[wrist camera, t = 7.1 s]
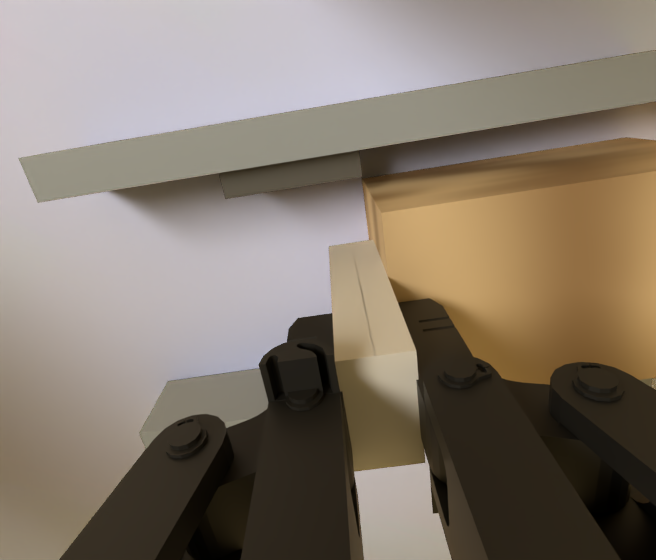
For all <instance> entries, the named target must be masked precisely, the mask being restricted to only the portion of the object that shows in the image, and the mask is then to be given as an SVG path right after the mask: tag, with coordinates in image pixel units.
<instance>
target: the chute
mask: <svg viewBox="0 0 656 560" xmlns="http://www.w3.org/2000/svg"><path fill="white" fill-rule="evenodd" d="M650 102H656V50H653V51H647V52H640V53H634V54H628V55H622V56H616V57H611V58H605V59H599V60H593V61H587V62H581V63H575V64H569V65H563V66H557V67H551V68H546V69H540V70H534V71H528V72H522V73H516V74H510V75H504V76H498V77H492V78H487V79H481V80H475V81H469V82H463V83H457V84H451V85H445V86H439V87H433V88H427V89H422V90H416V91H410V92H404V93H398V94H392V95H386V96H380V97H374V98H368V99H362V100H357V101H351V102H345V103H339V104H333V105H327V106H321V107H315V108H309V109H303V110H297V111H292V112H286V113H280V114H274V115H268V116H262V117H256V118H250V119H244V120H238V121H232V122H227V123H221V124H215V125H209V126H203V127H197V128H191V129H185V130H179V131H173V132H167V133H162V134H156V135H150V136H144V137H138V138H132V139H126V140H120V141H114V142H108V143H103V144H97V145H91V146H85V147H79V148H73V149H68V150H62V151H57V152H51V153H45V154H40V155H34V156H29V157H23V158H19V161H20V163H21V165H22V167H23V170H24V172H25V174H26V177H27V179H28V181H29V183H30V186H31V188H32V190H33V193H34V195H35V197H36V199H37V202H38V203H39V202H45V201H51V200H57V199H63V198H70V197H76V196H82V195H88V194H94V193H100V192H106V191H112V190H118V189H125V188H131V187H137V186H143V185H149V184H155V183H161V182H167V181H173V180H179V179H186V178H192V177H198V176H204V175H210V174H216V173H219V176H220V180H221V184H222V187H223V191H224V195H225V199H228V198H234V197H241V196H247V195H253V194H259V193H266V192H272V191H278V190H284V189H290V188H297V187H303V186H309V185H315V184H322V183H328V182H334V181H340V180H346V179H353V178H359V177H362V172H361V164H360V155H359V150H363V149H369V148H375V147H381V146H387V145H393V144H399V143H405V142H412V141H418V140H424V139H430V138H436V137H442V136H448V135H454V134H460V133H466V132H473V131H479V130H485V129H491V128H497V127H503V126H509V125H515V124H521V123H528V122H534V121H540V120H546V119H552V118H558V117H564V116H570V115H576V114H583V113H589V112H595V111H601V110H607V109H613V108H619V107H625V106H631V105H637V104H644V103H650ZM640 381H642V382H643V383H645V384H647V385H648V386H650V387H651V384H652V378H650V379H642V380H640ZM267 407H268V399H267V395H266V391H265V387H264V383H263V379H262V376H261V372H260V368H259V369H252V370H245V371H238V372H230V373H223V374H216V375H209V376H202V377H195V378H188V379H181V380H174V381H168V382H167V384H166V386H165V388H164V389H163V391H162V393H161V395H160V397H159V398H158V400H157V402H156V404H155V406H154V408H153V409H152V411H151V413H150V415H149V417H148V418H147V420H146V422H145V424H144V426H143V428H142V429H141V431H140V433H139V434H140V436H141V439H142V441H143V443H144V445H145V448H146V449H147V447H148V446H149V445H150V443H151V442H152V441H153V440H154V439H155V438H156V437H157V436H158V435H159V434H160V433H161V432H162V431H163V430H164V429H165V428H166V427H168V426H170V425H171V424H173V423H175V422H176V421H178V420H180V419H183V418H186V417H189V416H192V415H199V414H209V415H214V416H218V417H219V418H220V419H221V420H222V421H223V422H224V423H225V426H226V428H228V427H230V426H233V425H236V424H238V423H241V422H244V421H247V420H249V419H251V418H253V417H255V416H257V415H259V414H260V413H262V412H263V411H265V410H266V409H267Z"/></svg>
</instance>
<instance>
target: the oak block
mask: <svg viewBox="0 0 656 560" xmlns="http://www.w3.org/2000/svg"><path fill="white" fill-rule="evenodd" d="M362 184H363V192H364V201H365V209H366V218H367V227H368V235H369V240H374V243H375V245H376V248H377V250H378V253H379V255H380V258H381V261H382V263H383V266H384V268H385V271H386V273H387V276H388V279H389V281H390V284H391V286H392V289H393V291H394V294H395V297H396V299H397V302H398V303H399V302H406V301H413V300H420V299H427V298H430V299H432V300H434V301H435V302H437V303H439V304H440V305H442V306H443V307H444V309H445V310H446V312H447V314H448V315H449V318H450V319H451V320H452V322H453V324H454V325H455V327H456V328H457V330H458V332H459V333H460V335H461V337H462V338H463V340H464V342H465V343H466V345H467V347H468V348H469V350H470V352H471V353H472V355H473V357H476V358H479V359H481V360H483V361H485V362H487V363H489V364H490V365H491V366H492V367H493V368H494V369H495V370H496V371H497V372H498V373H499V375H500V376H501V378H503V379H506V380H510V381H516V382H523V383H536V384H548V385H550V377H551V376H552V374H553V372H554V370H555V369H557V368H559V367H561V366H563V365H565V364H569V363H576V362H591V363H599V364H603V365H607V366H611V367H615V368H617V369H619V370H622V371H624V372H626V373H628V374H630V375H632V376H634V377H635V378H637V379H639V380H642V379H650V378H656V141H655V140H645V139H636V138H619V139H613V140H607V141H600V142H594V143H587V144H581V145H575V146H568V147H562V148H555V149H549V150H543V151H536V152H530V153H523V154H517V155H511V156H504V157H498V158H491V159H485V160H479V161H472V162H466V163H459V164H453V165H447V166H440V167H434V168H427V169H421V170H415V171H408V172H402V173H395V174H389V175H383V176H376V177H370V178H363V179H362Z"/></svg>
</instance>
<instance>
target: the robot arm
mask: <svg viewBox="0 0 656 560" xmlns="http://www.w3.org/2000/svg"><path fill="white" fill-rule="evenodd" d="M329 258H330V278H331V298H332V313H331V314H324V315H317V316H310V317H303V318H298V319H297V320H296V321H295V322H294V324H293V325H292V326H291V327H290V328H289V332H288V338H287V342H286V343H283V344H281V345H279V346H277V347H275V348H273V349H271V350H270V351H269V352H268V353H267V354H265V355H264V356H263V358H262V360H261V361H260V363H259V368H260V372H261V376H262V379H263V383H264V387H265V391H266V395H267V399H268V407H267V409H266V410H265V411H263V412H262V413H260V414H259V415H257V416H255V417H253V418H251V419H249V420H247V421H244V422H241V423H238V424H236V425H233V426H230V427H228V428H226V426H225V423H224V422H223V421H222V420H221V419H220V418H219V417H218V416H214V415H209V414H199V415H192V416H189V417H186V418H183V419H180V420H178V421H176V422H175V423H173V424H171V425H170V426H168V427H166V428H165V429H164V430H163V431H162V432H161V433H160V434H159V435H158V436H157V437H156V438H155V439H154V440H153V441H152V442H151V443H150V445H149V446H148V447H147V449H146V450H145V451H144V452H143V454H142V455H141V456H140V458H139V459H138V460H137V461H136V463H135V464H134V465H133V466H132V468H131V469H130V470H129V472H128V473H127V474H126V475H125V477H124V478H123V479H122V480H121V482H120V483H119V484H118V486H117V487H116V488H115V489H114V491H113V492H112V493H111V495H110V496H109V497H108V498H107V500H106V501H105V502H104V503H103V505H102V506H101V507H100V509H99V510H98V511H97V512H96V514H95V515H94V516H93V517H92V519H91V520H90V521H89V523H88V524H87V525H86V526H85V528H84V529H83V530H82V531H81V533H80V534H79V535H78V537H77V538H76V539H75V540H74V542H73V543H72V544H71V546H70V547H69V548H68V549H67V551H66V552H65V553H64V554H63V556H62V557H61V558H60V560H364V557H363V546H362V535H361V525H360V514H359V504H358V494H357V488H356V482H355V477H354V471H361V470H369V469H378V468H386V467H394V466H402V465H410V464H418V463H425V454H424V450H425V453H426V456H427V460H428V463H429V466H430V480H431V493H432V507H433V513H439V516H440V519H441V523H442V526H443V530H444V533H445V537H446V540H447V544H448V547H449V551H450V554H451V558H452V560H656V390H655V389H653V388H652V387H650V386H648V385H647V384H645V383H643V382H642V381H640V380H639V379H637V378H635V377H634V376H632V375H630V374H628V373H626V372H624V371H622V370H619V369H617V368H615V367H611V366H607V365H603V364H599V363H591V362H576V363H569V364H565V365H563V366H561V367H559V368H557V369H555V370H554V372H553V374H552V376H551V377H550V385H548V384H536V383H523V382H516V381H510V380H506V379H503V378H501V376H500V375H499V373H498V372H497V371H496V370H495V369H494V368H493V367H492V366H491V365H490V364H489V363H487V362H485V361H483V360H481V359H479V358H476V357H473V355H472V353H471V352H470V350H469V348H468V347H467V345H466V343H465V342H464V340H463V338H462V337H461V335H460V333H459V332H458V330H457V328H456V327H455V325H454V324H453V322H452V320H451V319H450V318H449V315H448V314H447V312H446V310H445V309H444V307H443V306H442V305H440V304H439V303H437V302H435V301H434V300H432V299H430V298H427V299H420V300H413V301H406V302H399V303H398V302H397V299H396V297H395V294H394V291H393V289H392V286H391V284H390V281H389V279H388V276H387V273H386V271H385V268H384V266H383V263H382V261H381V258H380V255H379V253H378V250H377V248H376V245H375V243H374V240H368V241H361V242H354V243H348V244H341V245H334V246H329Z"/></svg>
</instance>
